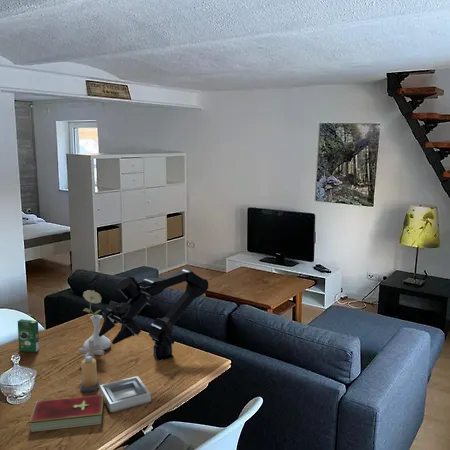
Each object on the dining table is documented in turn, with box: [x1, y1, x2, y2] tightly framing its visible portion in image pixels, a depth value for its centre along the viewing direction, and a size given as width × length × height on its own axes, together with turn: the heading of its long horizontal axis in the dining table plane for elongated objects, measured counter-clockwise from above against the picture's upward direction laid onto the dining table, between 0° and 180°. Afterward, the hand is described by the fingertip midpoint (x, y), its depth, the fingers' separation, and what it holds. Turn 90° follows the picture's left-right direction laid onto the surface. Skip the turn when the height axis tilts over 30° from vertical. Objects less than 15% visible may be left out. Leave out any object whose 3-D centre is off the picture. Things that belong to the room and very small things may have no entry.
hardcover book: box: [28, 394, 105, 433], centre depth 148 cm, size 12×21×4 cm, turn 102°
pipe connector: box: [78, 338, 105, 360], centre depth 183 cm, size 10×10×10 cm
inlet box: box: [99, 375, 152, 413], centre depth 160 cm, size 14×14×3 cm
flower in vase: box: [82, 289, 112, 351], centre depth 196 cm, size 13×11×25 cm
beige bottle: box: [79, 356, 100, 394], centre depth 165 cm, size 6×6×12 cm
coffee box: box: [17, 319, 40, 353], centre depth 194 cm, size 8×3×13 cm, turn 79°
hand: (105, 339), depth 170 cm, fingers open, 9 cm apart
